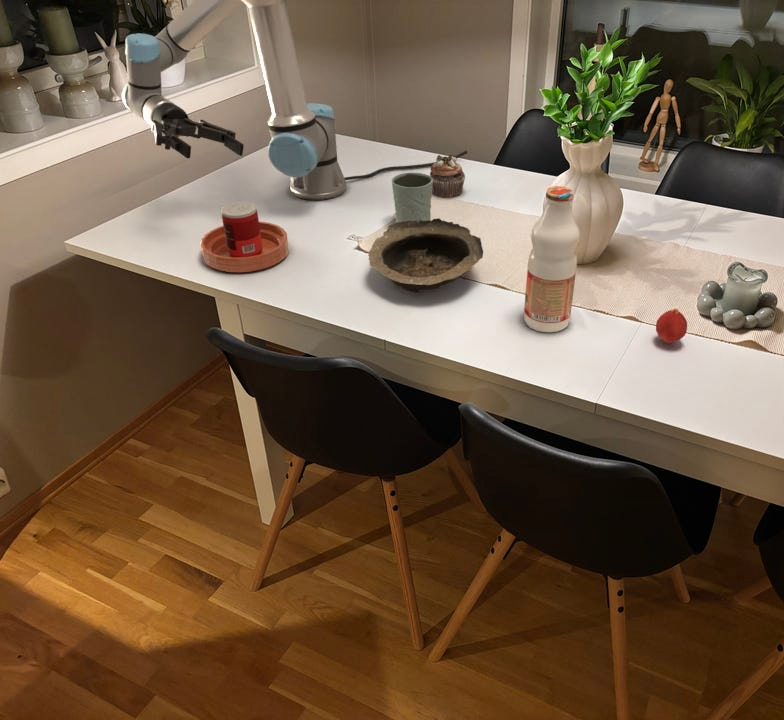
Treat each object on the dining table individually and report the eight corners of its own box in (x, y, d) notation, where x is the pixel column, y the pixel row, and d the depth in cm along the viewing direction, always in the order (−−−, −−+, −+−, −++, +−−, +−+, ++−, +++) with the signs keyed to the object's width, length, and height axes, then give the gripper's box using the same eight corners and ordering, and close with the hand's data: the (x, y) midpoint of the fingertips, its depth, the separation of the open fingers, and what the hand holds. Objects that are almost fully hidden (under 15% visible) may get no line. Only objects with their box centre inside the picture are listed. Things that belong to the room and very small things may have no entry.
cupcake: (434, 200, 198) (434, 164, 192) (427, 186, 205) (426, 152, 200) (468, 197, 200) (469, 161, 194) (460, 184, 207) (460, 149, 202)
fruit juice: (542, 338, 144) (556, 205, 127) (514, 316, 150) (523, 187, 134) (579, 325, 148) (597, 194, 131) (550, 304, 154) (563, 177, 138)
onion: (648, 334, 145) (656, 300, 140) (677, 333, 146) (685, 299, 141) (658, 351, 140) (665, 316, 136) (687, 350, 141) (695, 315, 136)
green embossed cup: (401, 236, 180) (400, 189, 173) (387, 220, 187) (385, 175, 180) (439, 229, 183) (439, 183, 176) (423, 213, 191) (423, 169, 184)
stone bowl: (468, 247, 175) (470, 212, 169) (490, 307, 156) (493, 271, 150) (364, 252, 171) (363, 217, 165) (374, 315, 152) (373, 278, 146)
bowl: (287, 233, 180) (285, 218, 178) (290, 270, 165) (288, 254, 163) (206, 239, 177) (203, 224, 175) (201, 278, 161) (198, 262, 159)
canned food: (269, 247, 173) (262, 204, 166) (251, 262, 166) (243, 217, 160) (241, 242, 175) (233, 199, 168) (222, 257, 168) (213, 212, 162)
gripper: (210, 131, 187) (259, 164, 177) (115, 133, 169) (164, 170, 159) (213, 102, 183) (263, 134, 173) (116, 101, 165) (166, 136, 155)
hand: (216, 151), depth 166 cm, fingers open, 13 cm apart
